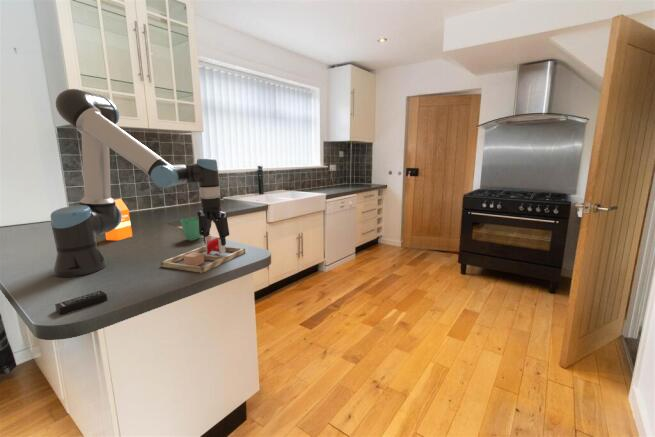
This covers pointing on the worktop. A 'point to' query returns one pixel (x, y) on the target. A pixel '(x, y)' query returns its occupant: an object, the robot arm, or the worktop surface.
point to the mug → (191, 228)
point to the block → (194, 259)
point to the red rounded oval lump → (213, 246)
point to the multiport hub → (80, 302)
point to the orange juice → (121, 224)
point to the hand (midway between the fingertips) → (216, 251)
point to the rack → (216, 259)
